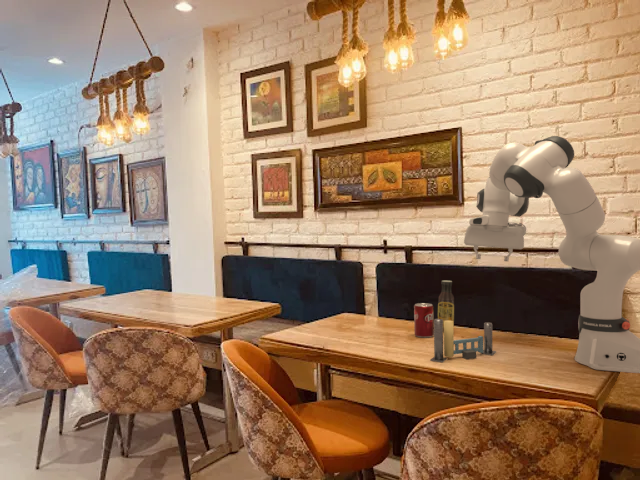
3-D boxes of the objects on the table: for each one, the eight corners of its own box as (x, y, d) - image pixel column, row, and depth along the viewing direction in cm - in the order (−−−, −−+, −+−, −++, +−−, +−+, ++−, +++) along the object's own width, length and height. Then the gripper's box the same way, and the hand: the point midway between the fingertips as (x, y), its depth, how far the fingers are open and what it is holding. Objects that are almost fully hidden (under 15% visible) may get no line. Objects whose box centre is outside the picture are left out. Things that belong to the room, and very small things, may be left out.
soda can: (412, 337, 195) (411, 305, 194) (417, 333, 201) (417, 302, 200) (430, 338, 191) (430, 306, 191) (436, 334, 198) (435, 303, 197)
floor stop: (471, 356, 167) (471, 349, 167) (476, 358, 165) (476, 351, 165) (462, 357, 166) (462, 350, 166) (466, 359, 164) (466, 352, 164)
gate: (479, 350, 171) (479, 317, 170) (485, 353, 168) (484, 318, 168) (442, 355, 167) (441, 320, 166) (447, 357, 164) (447, 322, 163)
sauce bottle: (436, 332, 202) (435, 281, 201) (438, 328, 208) (438, 279, 207) (453, 333, 200) (453, 282, 199) (455, 329, 206) (454, 279, 204)
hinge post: (496, 352, 171) (496, 322, 170) (492, 355, 168) (492, 325, 167) (484, 351, 173) (483, 321, 173) (480, 353, 170) (480, 323, 169)
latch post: (447, 359, 164) (446, 319, 164) (442, 362, 161) (441, 321, 160) (435, 357, 167) (434, 317, 166) (430, 360, 163) (429, 320, 163)
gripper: (526, 223, 183) (523, 262, 182) (466, 220, 189) (463, 257, 189) (527, 222, 177) (523, 262, 176) (465, 219, 183) (462, 257, 183)
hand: (492, 260), depth 183 cm, fingers open, 8 cm apart
